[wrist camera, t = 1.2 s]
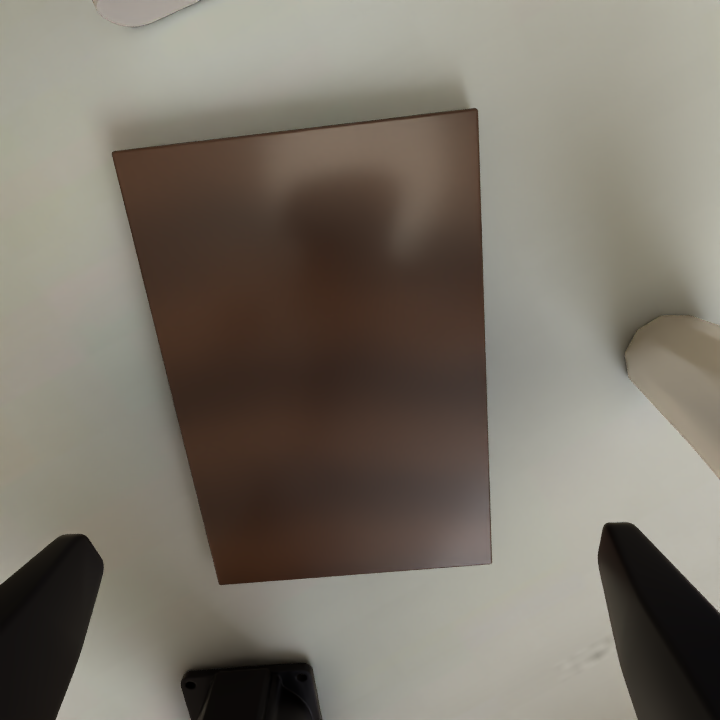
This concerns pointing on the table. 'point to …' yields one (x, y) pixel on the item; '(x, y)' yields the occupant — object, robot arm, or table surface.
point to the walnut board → (324, 340)
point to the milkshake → (681, 378)
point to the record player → (138, 10)
